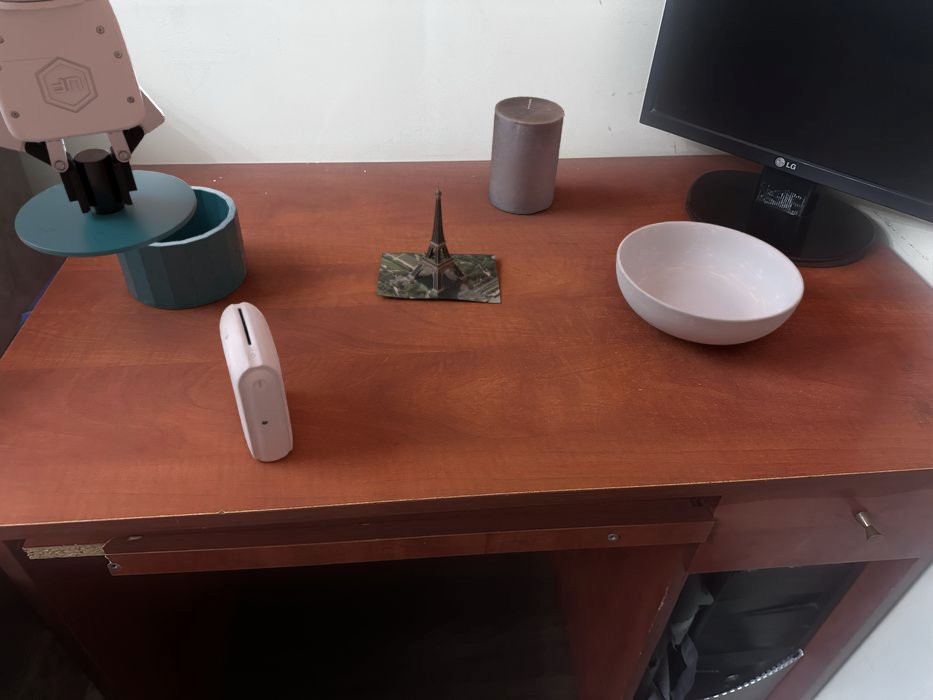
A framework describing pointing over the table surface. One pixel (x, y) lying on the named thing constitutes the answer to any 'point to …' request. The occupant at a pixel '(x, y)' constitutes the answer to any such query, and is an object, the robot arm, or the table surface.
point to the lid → (105, 212)
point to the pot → (191, 258)
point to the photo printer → (256, 381)
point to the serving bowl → (707, 282)
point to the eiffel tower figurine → (439, 271)
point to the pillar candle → (525, 154)
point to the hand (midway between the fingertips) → (106, 200)
